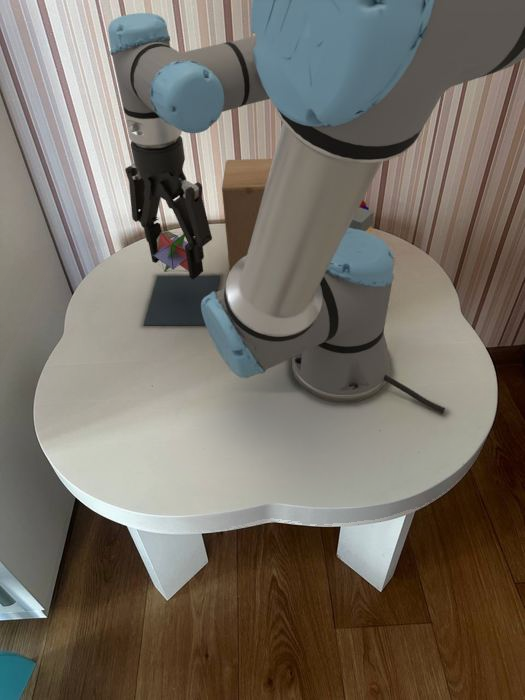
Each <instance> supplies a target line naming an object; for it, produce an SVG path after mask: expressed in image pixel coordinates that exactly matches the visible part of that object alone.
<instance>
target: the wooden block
mask: <svg viewBox="0 0 525 700" xmlns="http://www.w3.org/2000/svg"><path fill="white" fill-rule="evenodd" d="M272 161H273V158H253V159H252V158H249V159H247V158H246V159H226V161H225V163H224V164H225V165H224V171H223V179H222V187H221V194H222V205H223V214H224V223H225V224H224V226H225V235H226V247H227V257H228V268H229V272H230V271H231V269H232V268H233V266H234V265H235V264H236V263H237V262H238V261H239V260H240V259H242V258H243V257H245V256H246V255H247V253H248V249H249V246H250V242H251V238H252V235H253V231H254V227H255V224H256V220H257V216H258V213H259V209H260V205H261V202H262V198H263V194H264V190H265V187H266V183H267V179H268V176H269V172H270V168H271V165H272Z"/></svg>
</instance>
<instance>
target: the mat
mask: <svg viewBox="0 0 525 700" xmlns="http://www.w3.org/2000/svg"><path fill="white" fill-rule="evenodd" d="M220 279H221V275H198V276H197V277H196V278H195V279H191V278H190V276H189V275H156V279H155V282H154V286H153V288H152V289H153V290H152V293H151V297H150V299H149V303H148V308H147V310H146V315H145V319H144V321H143V326H145V327H149V326H150V327H152V326H153V327H156V326H161V327H163V326H164V327H167V326H170V327H171V326H172V327H174V326H176V327H177V326H178V327H179V326H180V327H181V326H183V327H184V326H185V327H187V326H188V327H190V326H191V327H195V326H196V327H197V326H199V327H200V326H201V327H204V326H205V327H206V324H205V321H204V318H203V315H202V311H201V302H202V300H203V298H204V297H206V296H208V295H209V294H211V292H214V291H215V292H218V291H219V285H220Z"/></svg>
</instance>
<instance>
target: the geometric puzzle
mask: <svg viewBox="0 0 525 700" xmlns="http://www.w3.org/2000/svg"><path fill="white" fill-rule="evenodd" d="M175 233H178V235H177V234H175ZM179 233H180V231H179V232H177V231H176V232H174V231H173V232H171V231H169V230H166V231H162V233H161V234H160V235H159V237H158V238H157V250H159V251H158V252H157V251H156V252H157V253H156V252H155V253H156V254H153V256H154V258H155V257H156V258H157V259H158V260H159V262H160V263H161V265H162V269H163V272H164V273H170V272H174V273H175V272H177V273H178V272H184V270H182V269H180V270H176V269H177V268H178V267H182V268H183V269H185V271H187V272H188V273H189V269H188V263H187V256H186V250H185V245H187V244H188V242H187V240H185V239H186V237H185V235H184V233H183V232H181V234H179ZM163 264H164V265H165V267H164V265H163ZM158 265H159V266H161V265H160V264H159V263H158Z"/></svg>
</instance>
